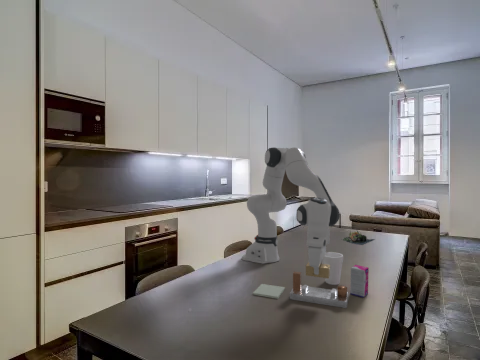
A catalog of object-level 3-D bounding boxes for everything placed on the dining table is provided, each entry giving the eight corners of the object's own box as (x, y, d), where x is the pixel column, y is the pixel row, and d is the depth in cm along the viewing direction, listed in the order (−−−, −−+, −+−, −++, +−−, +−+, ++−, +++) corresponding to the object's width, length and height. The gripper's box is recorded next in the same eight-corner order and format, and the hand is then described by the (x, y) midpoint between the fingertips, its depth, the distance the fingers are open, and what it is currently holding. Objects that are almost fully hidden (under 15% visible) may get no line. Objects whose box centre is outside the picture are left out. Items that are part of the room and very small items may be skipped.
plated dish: (347, 234, 251) (347, 225, 251) (382, 239, 232) (382, 230, 232) (327, 242, 226) (327, 232, 226) (365, 248, 207) (365, 238, 206)
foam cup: (336, 278, 146) (336, 251, 145) (347, 284, 137) (347, 256, 136) (318, 279, 144) (318, 252, 143) (328, 286, 135) (328, 258, 134)
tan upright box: (305, 275, 122) (305, 265, 122) (308, 271, 126) (308, 262, 126) (328, 278, 118) (328, 268, 118) (330, 274, 123) (330, 264, 123)
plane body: (289, 299, 122) (289, 275, 122) (295, 290, 131) (295, 268, 131) (346, 308, 113) (346, 283, 113) (348, 298, 122) (348, 275, 122)
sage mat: (252, 294, 127) (252, 292, 127) (261, 285, 137) (261, 283, 137) (278, 298, 122) (278, 296, 122) (284, 289, 132) (284, 287, 132)
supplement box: (364, 298, 122) (364, 270, 122) (349, 294, 126) (349, 267, 126) (368, 293, 126) (368, 266, 126) (354, 290, 130) (354, 264, 130)
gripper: (314, 232, 132) (314, 263, 133) (305, 242, 114) (305, 278, 114) (329, 233, 130) (329, 264, 130) (322, 244, 111) (322, 281, 112)
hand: (318, 271), depth 122 cm, fingers closed on tan upright box, 5 cm apart
